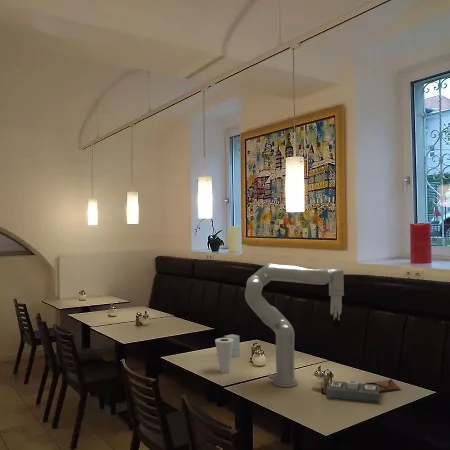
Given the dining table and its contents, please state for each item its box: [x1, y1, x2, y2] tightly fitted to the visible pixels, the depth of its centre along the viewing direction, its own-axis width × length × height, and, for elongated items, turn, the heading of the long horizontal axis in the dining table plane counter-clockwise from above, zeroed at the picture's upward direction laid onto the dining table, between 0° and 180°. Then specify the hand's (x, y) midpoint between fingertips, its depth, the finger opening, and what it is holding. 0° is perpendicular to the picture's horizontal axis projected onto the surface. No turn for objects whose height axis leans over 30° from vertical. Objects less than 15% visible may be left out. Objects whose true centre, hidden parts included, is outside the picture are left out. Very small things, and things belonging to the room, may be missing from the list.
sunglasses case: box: [364, 379, 402, 394], centre depth 252 cm, size 18×7×7 cm, turn 112°
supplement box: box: [223, 333, 241, 359], centre depth 318 cm, size 7×7×13 cm
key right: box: [364, 385, 376, 391], centre depth 240 cm, size 5×5×4 cm
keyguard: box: [325, 380, 380, 404], centre depth 243 cm, size 24×13×4 cm, turn 72°
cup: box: [214, 337, 234, 374], centre depth 285 cm, size 11×11×18 cm
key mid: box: [346, 379, 360, 390], centre depth 243 cm, size 5×5×4 cm
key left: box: [330, 382, 342, 388], centre depth 245 cm, size 5×5×4 cm
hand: (336, 327), depth 262 cm, fingers closed
